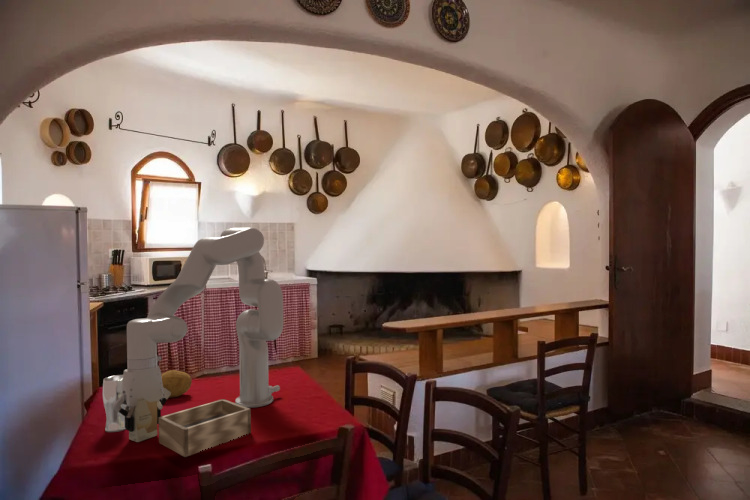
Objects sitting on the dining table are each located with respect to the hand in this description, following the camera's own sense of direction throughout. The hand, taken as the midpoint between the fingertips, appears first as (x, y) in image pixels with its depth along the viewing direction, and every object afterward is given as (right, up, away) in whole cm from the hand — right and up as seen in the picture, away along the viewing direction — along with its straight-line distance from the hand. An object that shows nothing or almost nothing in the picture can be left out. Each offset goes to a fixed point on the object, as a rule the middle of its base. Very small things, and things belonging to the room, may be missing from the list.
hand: (143, 426), depth 137 cm
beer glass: (-11, -3, +7) cm, 14 cm away
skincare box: (0, -3, 0) cm, 3 cm away
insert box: (+18, -3, -1) cm, 18 cm away
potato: (-7, -3, +36) cm, 37 cm away
